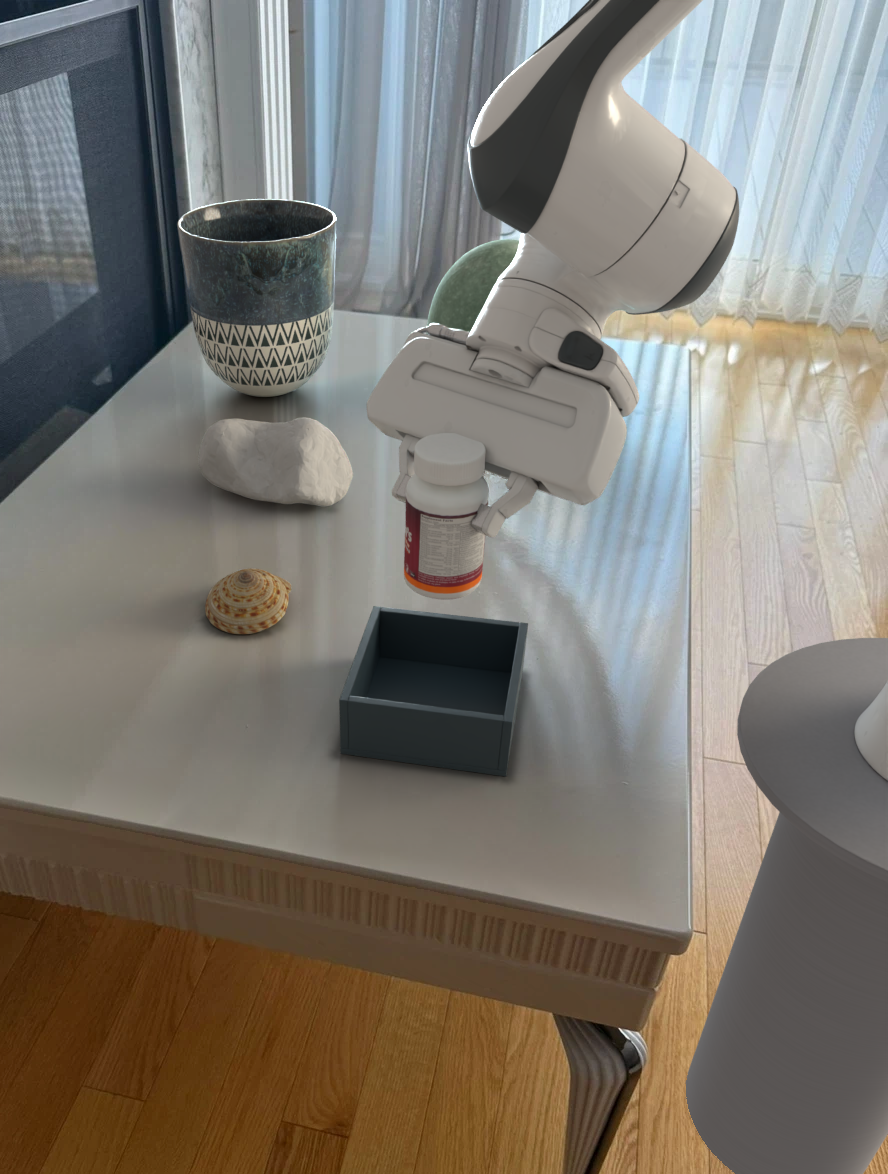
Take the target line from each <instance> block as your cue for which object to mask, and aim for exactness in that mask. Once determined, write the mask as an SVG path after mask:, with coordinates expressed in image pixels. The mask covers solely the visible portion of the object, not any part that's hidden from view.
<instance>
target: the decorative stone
mask: <svg viewBox="0 0 888 1174" xmlns="http://www.w3.org/2000/svg"><path fill="white" fill-rule="evenodd" d="M197 457H198V467H199V471H200V473H201V475H202V476H203V478H205V479H206V480H207V481H208V482H209V483H210V484H211V485H214V486H215V487H217V488H220V489H222V490H225V491H227V492H230V493H234V495H239V496H241V497H243V498H247V499H251V500H253V501H261V502H267V503H268V502H269V503H276V504H281V505H282V504H283V505H292V504H304V505H311V506H318V507H322V508H323V507H330V506H333V505H334V504H336V503H338V502H340V501H341V500H342V499H343V498H345V496H346V495H347V493H348V491H349V488H350V486H351V483H352V480H353V477H354V472H353V468H352V465H351V461H350V460H349V457H348V455H347V452H346V450H344V448H343V446H342V444H341V442H340V441H339V439H338V438H337V436H336V435H335V434H334V432H332V431H331V429H329V428H328V427H327V426H326V425H324V424H322V423H321V422H320V421H319V420H316V419H314V418H312V417H305V416H304V417H303V416H302V417H297V418H294V419H293V420H289V421H286V422H285V421H284V422H270V421H269V422H268V421H259V420H249V419H243V418H234V417H233V418H224V419H220V420H217V421H215V422H214V423H212V424H211V425H210V426H209V427H208V428H207V429H206V430H205V432H204V434H203V437H202V440H201V442H200V445H199V450H198V456H197Z"/></svg>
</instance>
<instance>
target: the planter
mask: <svg viewBox="0 0 888 1174" xmlns="http://www.w3.org/2000/svg"><path fill="white" fill-rule="evenodd" d="M176 225H177V233H178V234H177V235H178V241H179V248H180V253H181V258H182V266H183V270H184V277H185V284H186V290H187V295H188V302H189V308H190V313H191V320H192V324H193V330H194V334H195V338H196V341H197V344H198V347H199V350H200V352H201V355H202V357H203V359H204V361H205V362H206V364H207V366H208V367H209V369H210V370H211V371H212V373H214V375H215V376H216V377H217V378H219V380H220V381H222V382H223V383H224V384H225V385H227V386H229V387H230V388H231V389H233V390H235V391H237V392H238V393H242V394H243V395H247V396H251V397H258V398H259V397H260V398H271V397H272V398H273V397H278V396H282V395H286V394H289V393H292V392H294V391H296V390H297V389H299V388H301V387H302V386H304V385H305V384H306V383H308V381H310V380H311V379H312V378H313V376H315V374H316V373H317V371H318V370H319V369H320V368H321V366H322V365H323V363H324V361H325V359H326V358H327V354H328V352H329V351H328V350H329V347H330V344H331V339H332V335H333V328H334V313H335V312H334V309H335V290H336V289H335V287H336V285H335V284H336V253H337V252H336V251H337V217H336V214H335V213H334V212H333V211H331V210H330V209H329V208H326V207H324V206H321V205H319V204H314V203H311V202H305V201H300V200H291V199H278V198H277V199H275V198H265V199H264V198H257V199H256V198H255V199H253V198H252V199H241V200H239V199H238V200H231V201H224V202H218V203H213V204H209V205H208V204H207V205H205V206H201V207H198V208H195V209H193V210H191V211H188V212H187V213H185V214H183V215H182V216H180V218H179V219H178V221H177V223H176Z"/></svg>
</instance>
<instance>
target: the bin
mask: <svg viewBox="0 0 888 1174" xmlns="http://www.w3.org/2000/svg"><path fill="white" fill-rule="evenodd" d="M528 628H529V623H528V622H519V621H511V620H502V619H493V618H485V617H475V616H469V615H468V616H466V615H457V614H449V613H440V612H431V611H423V610H415V609H414V610H413V609H406V608H397V607H396V608H395V607H387V606H378V605H373V607H372V609H371V612H370V615H369V617H368V619H367V623H366V625H365V628H364V631H363V634H362V636H361V638H360V641H359V644H358V647H357V650H356V653H355V656H354V658H353V661H352V663H351V667H350V670H349V671H348V674H347V676H346V679H345V682H344V685H343V689H342V691H341V694H340V697H339V699H338V707H339V709H338V711H339V742H340V743H339V747H340V748H339V750H340V751H339V752H340V754H341V755H348V756H356V757H363V758H370V759H377V760H383V761H391V762H398V763H399V762H400V763H407V764H412V765H413V764H414V765H421V766H427V767H434V768H435V767H436V768H442V769H449V770H456V771H464V772H471V773H478V774H486V775H493V776H500V777H507V775H508V769H509V762H510V755H511V750H512V749H511V748H512V744H513V743H512V742H513V737H514V729H515V725H516V718H517V717H516V716H517V710H518V705H519V699H520V692H521V686H522V681H523V680H522V678H523V673H524V672H523V671H524V663H525V655H526V646H527V638H528Z"/></svg>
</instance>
